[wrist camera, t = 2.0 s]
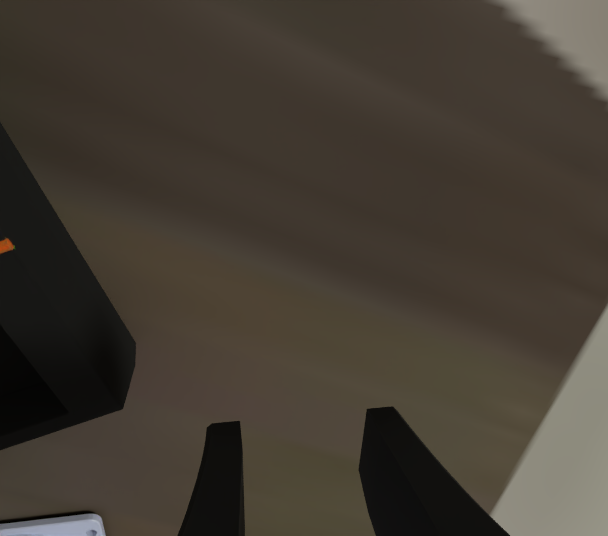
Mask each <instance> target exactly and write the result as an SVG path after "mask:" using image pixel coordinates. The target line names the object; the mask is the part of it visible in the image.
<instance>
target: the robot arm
mask: <svg viewBox="0 0 608 536" xmlns="http://www.w3.org/2000/svg"><path fill="white" fill-rule="evenodd" d="M359 473H360V477H361V482H362V487H363V491H364V496H365V500H366V504H367V509H368V513H369V516H370V519H371V522H372V525H373V528H374V531H375V534H376V536H510V535H509V534H508V533H507V532H506V531H505V530H504V529H503V528H501V526H499V524H498V523H496V522H495V521H494V520H493V519H492V518H491V517H490V516H489V515H488V514H487V513H486V512H485V511H484V510H483V509H482V508H481V507H480V506H479V505H478V504H477V503H476V502H475V500H474V499H473V498H472V497H471V496H470V495H469V494H468V493H467V492H466V491H465V490H464V489H463V488H462V487H461V486H460V485H459V483H458V482H457V481H456V480H455V479H454V478H453V477H452V476H451V475H450V473H449V472H448V471H447V470H446V469H445V468H444V467H443V466H442V465H441V463H440V462H439V461H438V460H437V459H436V458H435V456H434V455H433V454H432V453H431V452H430V451H429V449H428V448H427V447H426V446H425V445H424V443H423V442H422V441H421V440H420V439H419V437H418V436H417V435H416V434H415V433H414V431H413V430H412V429H411V428H410V426H409V425H408V424H407V423H406V421H405V420H404V419H403V418H402V416H401V415H400V414H399V412H398V411H397V410H396V409H395V408H394V407H382V408H371V409H367V413H366V420H365V427H364V434H363V442H362V449H361V456H360V463H359ZM0 536H106V535H105V531H104V527H103V523H102V519H101V517H100V516H99V515H97V514H82V515H73V516H65V517H56V518H47V519H39V520H30V521H22V522H13V523H5V524H0ZM178 536H245V520H244V486H243V452H242V439H241V428H240V421H234V422H223V423H212V424H211V425H210V426H208V427H207V431H206V441H205V447H204V452H203V457H202V461H201V465H200V469H199V473H198V476H197V480H196V483H195V487H194V490H193V493H192V496H191V499H190V502H189V505H188V509H187V512H186V515H185V517H184V520H183V523H182V526H181V528H180V531H179V533H178Z"/></svg>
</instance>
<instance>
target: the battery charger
mask: <svg viewBox="0 0 608 536" xmlns="http://www.w3.org/2000/svg"><path fill="white" fill-rule="evenodd" d="M135 354H136V343H135V341H134V339H133V338H132V336H131V334H130V333H129V331H128V330H127V328H126V326H125V325H124V323H123V321H122V320H121V318H120V317H119V315H118V313H117V312H116V310H115V308H114V307H113V305H112V303H111V302H110V300H109V299H108V297H107V295H106V294H105V292H104V290H103V289H102V287H101V286H100V284H99V282H98V281H97V279H96V277H95V276H94V274H93V273H92V271H91V269H90V268H89V266H88V264H87V263H86V261H85V260H84V258H83V256H82V255H81V253H80V251H79V250H78V248H77V246H76V245H75V243H74V242H73V240H72V238H71V237H70V235H69V233H68V232H67V230H66V229H65V227H64V225H63V224H62V222H61V220H60V219H59V217H58V216H57V214H56V212H55V211H54V209H53V207H52V206H51V204H50V202H49V201H48V199H47V198H46V196H45V194H44V193H43V191H42V189H41V188H40V186H39V185H38V183H37V181H36V180H35V178H34V176H33V175H32V173H31V172H30V170H29V168H28V167H27V165H26V163H25V162H24V160H23V159H22V157H21V155H20V154H19V152H18V150H17V149H16V147H15V145H14V144H13V142H12V141H11V139H10V137H9V136H8V134H7V132H6V131H5V129H4V128H3V126H2V124H1V123H0V450H2V449H5V448H8V447H11V446H14V445H17V444H20V443H23V442H26V441H29V440H32V439H35V438H38V437H41V436H44V435H47V434H50V433H53V432H56V431H59V430H62V429H65V428H68V427H71V426H74V425H77V424H80V423H83V422H86V421H89V420H92V419H95V418H98V417H101V416H104V415H107V414H110V413H112V412H115V411H118V410H121V409H123V407H124V403H125V400H126V396H127V393H128V389H129V385H130V382H131V378H132V375H133V371H134V367H135Z"/></svg>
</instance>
